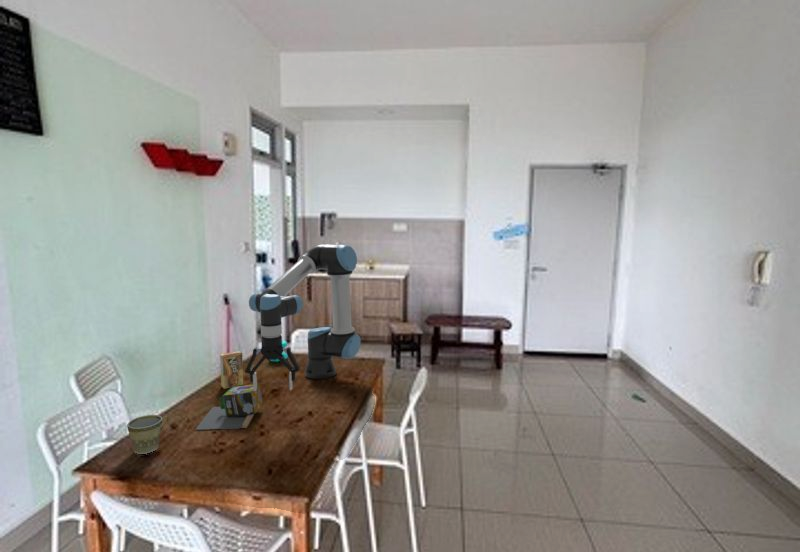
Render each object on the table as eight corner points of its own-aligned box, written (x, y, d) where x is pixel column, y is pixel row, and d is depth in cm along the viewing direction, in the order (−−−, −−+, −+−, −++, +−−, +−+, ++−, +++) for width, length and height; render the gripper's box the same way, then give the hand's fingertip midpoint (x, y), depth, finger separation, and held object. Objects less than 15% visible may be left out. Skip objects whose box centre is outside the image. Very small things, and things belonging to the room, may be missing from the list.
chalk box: (260, 383, 179) (224, 386, 181) (250, 392, 170) (213, 395, 172) (263, 405, 181) (228, 408, 182) (254, 415, 171) (217, 418, 173)
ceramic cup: (139, 461, 142) (137, 430, 140) (123, 452, 147) (120, 423, 146) (178, 444, 153) (176, 415, 151) (161, 436, 158) (160, 409, 157)
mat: (258, 406, 184) (258, 402, 184) (246, 428, 164) (246, 424, 164) (212, 407, 182) (212, 404, 182) (195, 430, 163) (195, 426, 162)
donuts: (283, 344, 240) (265, 344, 241) (283, 362, 242) (265, 362, 243) (289, 339, 250) (272, 339, 251) (290, 357, 251) (272, 356, 252)
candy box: (240, 382, 212) (239, 350, 210) (243, 384, 208) (242, 352, 206) (221, 386, 206) (219, 354, 204) (224, 389, 203) (222, 356, 201)
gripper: (305, 332, 176) (307, 384, 178) (240, 333, 174) (242, 386, 176) (303, 337, 168) (304, 391, 171) (235, 338, 166) (237, 394, 169)
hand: (273, 389), depth 174 cm, fingers open, 13 cm apart
